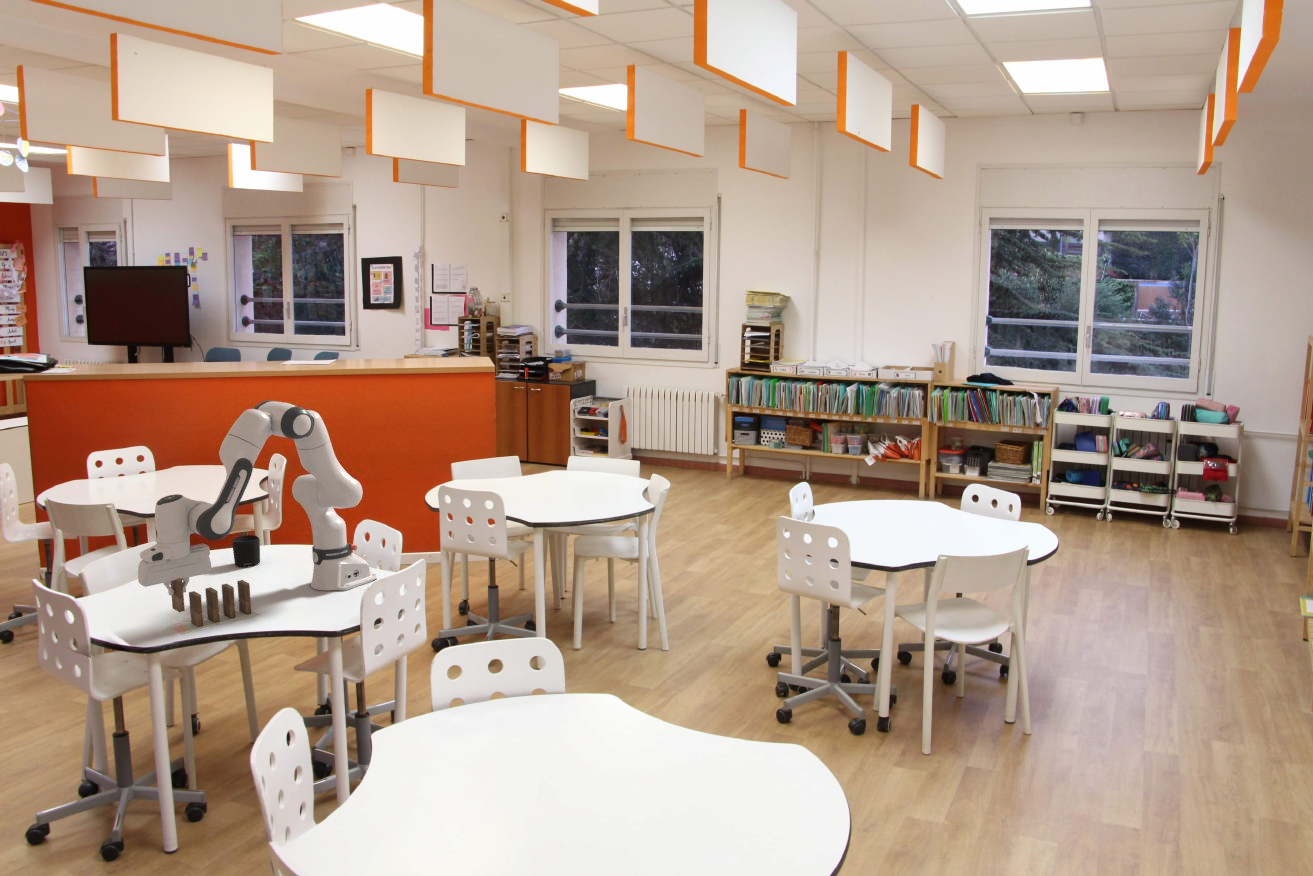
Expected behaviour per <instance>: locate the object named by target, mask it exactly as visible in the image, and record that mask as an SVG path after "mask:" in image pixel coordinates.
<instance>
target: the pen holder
mask: <svg viewBox="0 0 1313 876" xmlns="http://www.w3.org/2000/svg"><path fill="white" fill-rule="evenodd" d="M260 541H261V540H260V537H258V535H256V534H245V535H240V536H236V537H234V538H233V539H232V542H231V543H232V551H233V552H232V553H233V559H234V565H235V566H236V567H237V566H238V567H237V568H249V567H248V566H252V567H254V566H253V565H256V564H258V563H259V564H260V563H261V542H260ZM259 564H258V565H259ZM256 566H257V565H256Z"/></svg>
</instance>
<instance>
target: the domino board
mask: <svg viewBox="0 0 1313 876" xmlns="http://www.w3.org/2000/svg"><path fill="white" fill-rule="evenodd" d="M235 613H236V618H232V619H230V618H228V617H226V616H225V615H224V612H220V613H219V618H220V622H217V623H214V622H212V621H210V620H208V616H206V617H205V616H204V617H203V626H202V627H197V626H195V625H193V624H192V623H191V620H190V621H186V622H181V623H178V624H174V625H170V626H169V628H171V629H172V630H174V631H175V632H177V633H179V634H181V635H184V634H188V633H191V632H195V631H198V630H203V629H208V628H211V627H214V626H218V625H222V624H223V625H224V624H225V623H230V622H233V621H237V620H242V619H246V618H249V617H253V616H256V615H260V613H259V612H257V611H255V610H253V608H251V614H248V615H246V614H244V613H242V612H240V611H239V608H238V609H235Z"/></svg>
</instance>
